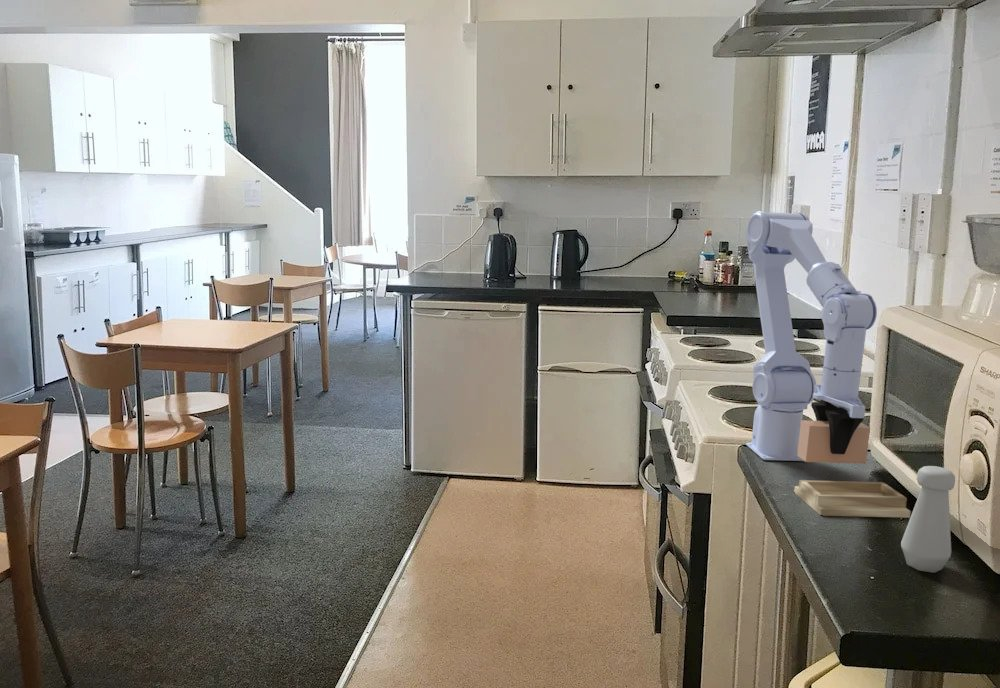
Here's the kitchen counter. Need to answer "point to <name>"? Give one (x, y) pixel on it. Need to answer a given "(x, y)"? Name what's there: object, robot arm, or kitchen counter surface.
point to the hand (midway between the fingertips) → (832, 449)
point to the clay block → (818, 444)
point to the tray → (852, 498)
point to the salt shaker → (930, 521)
